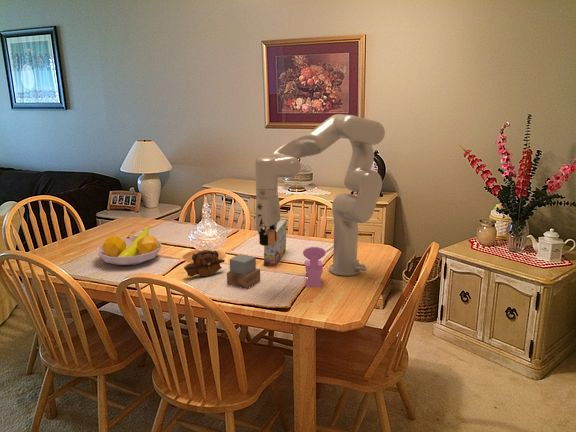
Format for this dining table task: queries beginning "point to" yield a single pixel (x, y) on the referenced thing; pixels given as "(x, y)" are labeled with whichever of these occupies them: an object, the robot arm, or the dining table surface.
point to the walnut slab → (243, 279)
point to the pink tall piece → (313, 266)
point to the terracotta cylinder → (270, 237)
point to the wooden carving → (204, 263)
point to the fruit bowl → (129, 249)
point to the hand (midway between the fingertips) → (267, 242)
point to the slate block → (242, 264)
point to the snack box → (276, 245)
